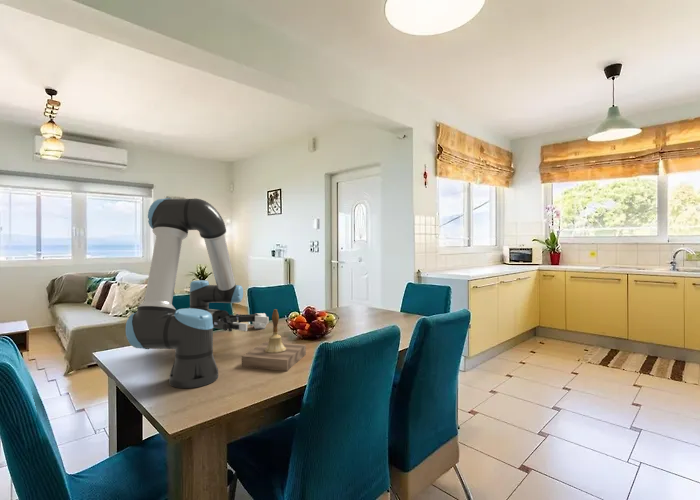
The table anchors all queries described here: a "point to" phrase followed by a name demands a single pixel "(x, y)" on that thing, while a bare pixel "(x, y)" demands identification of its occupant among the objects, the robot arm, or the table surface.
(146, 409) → the table surface
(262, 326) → the die
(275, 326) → the hand bell
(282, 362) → the walnut plinth
